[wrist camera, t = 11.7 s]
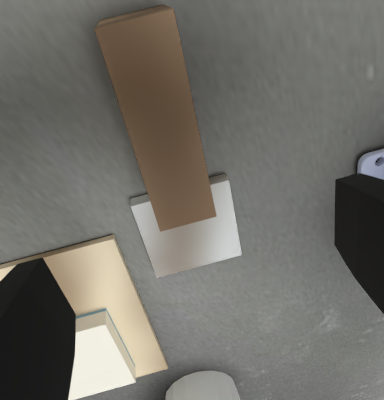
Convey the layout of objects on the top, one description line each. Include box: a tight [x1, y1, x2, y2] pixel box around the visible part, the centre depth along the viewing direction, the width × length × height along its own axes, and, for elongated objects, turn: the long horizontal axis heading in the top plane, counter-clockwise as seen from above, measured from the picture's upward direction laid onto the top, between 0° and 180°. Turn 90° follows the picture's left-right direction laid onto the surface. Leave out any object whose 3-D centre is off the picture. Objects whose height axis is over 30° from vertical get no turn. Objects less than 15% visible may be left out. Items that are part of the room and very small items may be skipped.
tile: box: [68, 308, 136, 400], centre depth 22 cm, size 6×1×6 cm
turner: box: [94, 5, 242, 278], centre depth 16 cm, size 5×13×4 cm, turn 12°
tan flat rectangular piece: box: [0, 234, 168, 377], centre depth 22 cm, size 10×12×1 cm
